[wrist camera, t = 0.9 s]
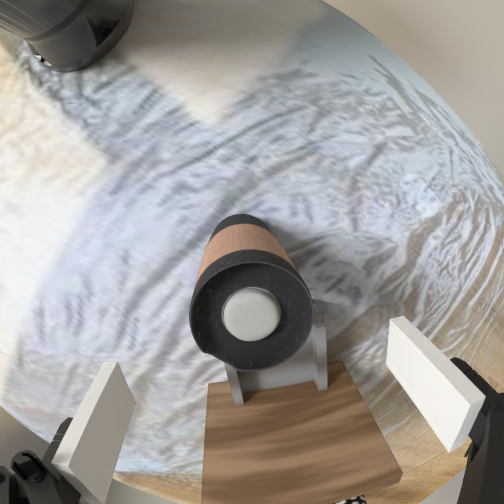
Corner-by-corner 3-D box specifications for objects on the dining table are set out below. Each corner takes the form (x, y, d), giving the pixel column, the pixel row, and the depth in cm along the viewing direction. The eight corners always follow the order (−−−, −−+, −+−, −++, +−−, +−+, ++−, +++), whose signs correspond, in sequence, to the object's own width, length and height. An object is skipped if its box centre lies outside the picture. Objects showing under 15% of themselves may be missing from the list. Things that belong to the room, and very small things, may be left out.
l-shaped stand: (190, 318, 39) (161, 451, 18) (340, 293, 39) (427, 398, 18) (211, 393, 42) (205, 520, 21) (341, 370, 43) (399, 481, 22)
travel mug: (267, 206, 36) (310, 247, 17) (276, 267, 38) (320, 360, 19) (203, 217, 36) (172, 271, 16) (215, 278, 38) (203, 381, 18)
